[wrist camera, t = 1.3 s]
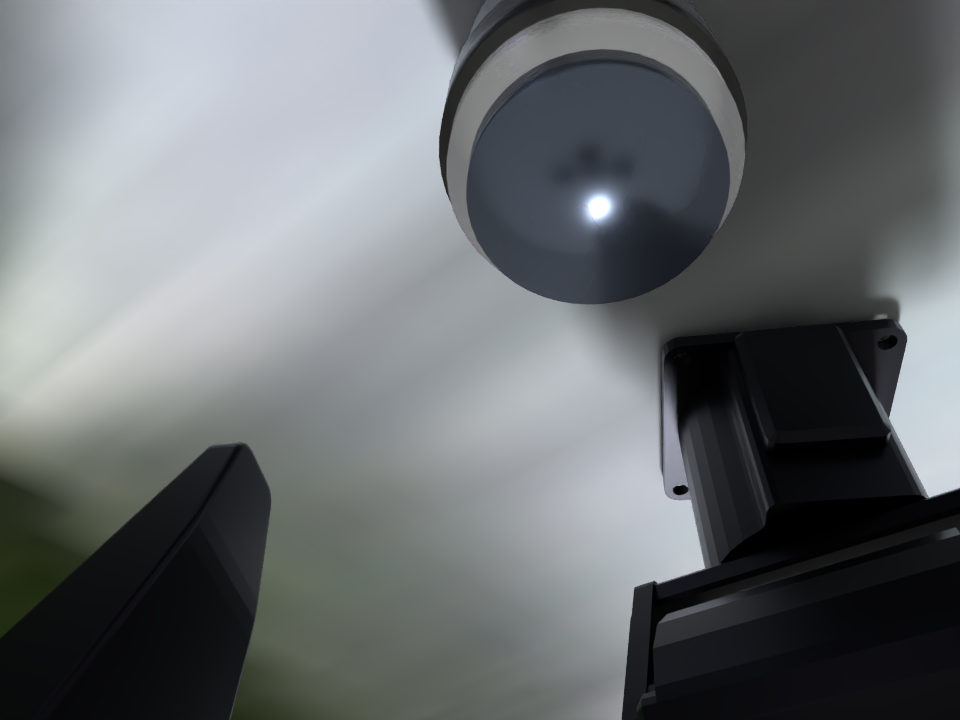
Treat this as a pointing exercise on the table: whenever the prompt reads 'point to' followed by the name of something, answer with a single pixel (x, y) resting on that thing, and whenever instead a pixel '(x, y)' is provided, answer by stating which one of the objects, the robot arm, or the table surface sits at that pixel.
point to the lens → (592, 143)
